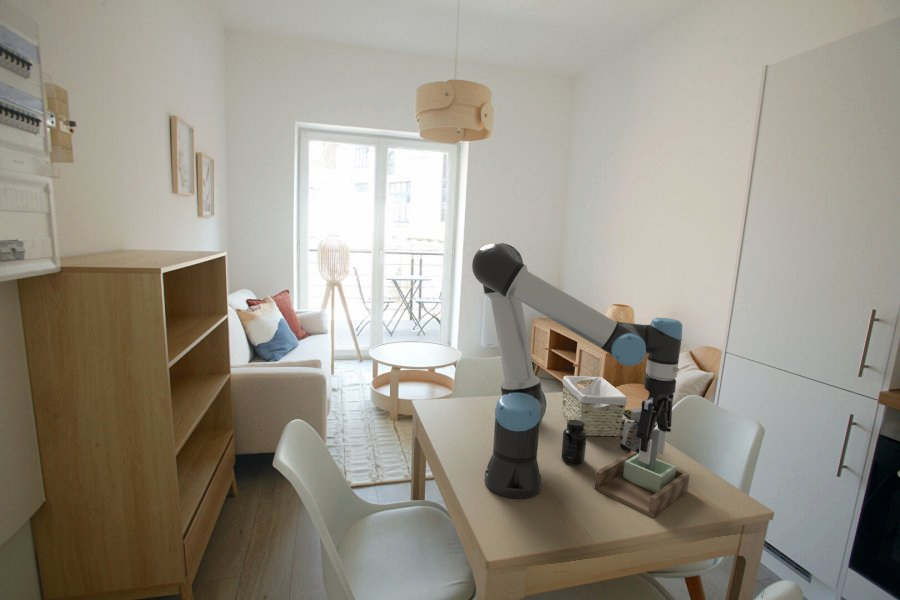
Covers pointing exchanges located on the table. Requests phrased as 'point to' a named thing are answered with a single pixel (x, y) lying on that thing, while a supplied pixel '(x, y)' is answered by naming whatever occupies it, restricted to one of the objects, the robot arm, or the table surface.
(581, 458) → the supplement bottle
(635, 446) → the figurine
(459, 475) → the table surface
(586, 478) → the table surface
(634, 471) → the green box with handle
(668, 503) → the bay
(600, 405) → the storage basket
